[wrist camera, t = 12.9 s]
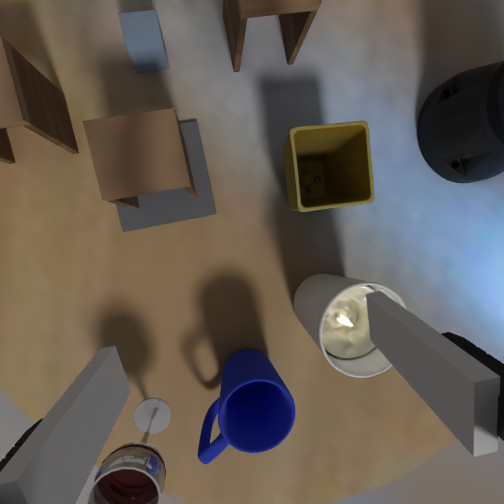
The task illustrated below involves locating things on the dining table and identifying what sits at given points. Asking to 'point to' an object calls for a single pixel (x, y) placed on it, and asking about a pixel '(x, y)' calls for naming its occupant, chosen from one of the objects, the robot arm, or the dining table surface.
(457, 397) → the robot arm
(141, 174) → the cover middle
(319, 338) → the candle holder
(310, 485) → the dining table surface
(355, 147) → the flower pot
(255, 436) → the mug
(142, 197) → the mat
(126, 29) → the cube
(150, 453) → the wineglass
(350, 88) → the dining table surface
